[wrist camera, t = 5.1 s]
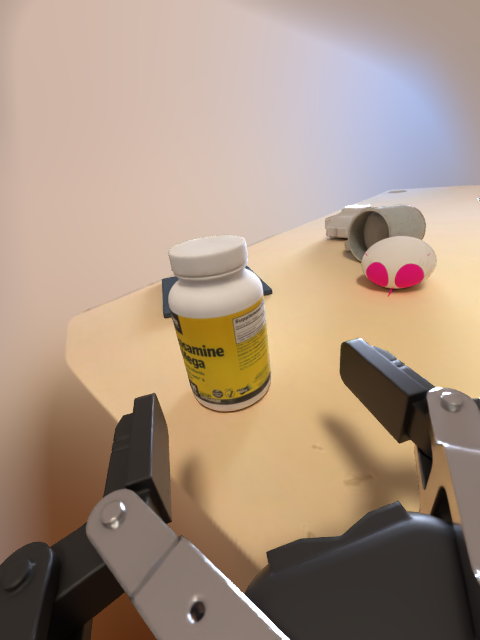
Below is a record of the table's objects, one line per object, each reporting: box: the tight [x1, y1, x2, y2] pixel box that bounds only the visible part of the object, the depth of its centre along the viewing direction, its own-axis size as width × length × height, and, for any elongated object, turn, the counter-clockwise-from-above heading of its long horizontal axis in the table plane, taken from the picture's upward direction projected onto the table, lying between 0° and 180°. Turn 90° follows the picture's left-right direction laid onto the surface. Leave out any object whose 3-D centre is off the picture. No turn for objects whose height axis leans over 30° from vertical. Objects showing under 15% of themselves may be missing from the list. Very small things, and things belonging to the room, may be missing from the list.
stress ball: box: [362, 236, 437, 296], centre depth 33 cm, size 8×8×7 cm
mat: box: [162, 265, 272, 318], centre depth 41 cm, size 14×14×1 cm
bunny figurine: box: [325, 206, 385, 238], centre depth 58 cm, size 10×5×15 cm
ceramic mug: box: [345, 205, 426, 262], centre depth 42 cm, size 11×8×8 cm
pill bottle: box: [168, 235, 271, 411], centre depth 19 cm, size 6×6×11 cm
